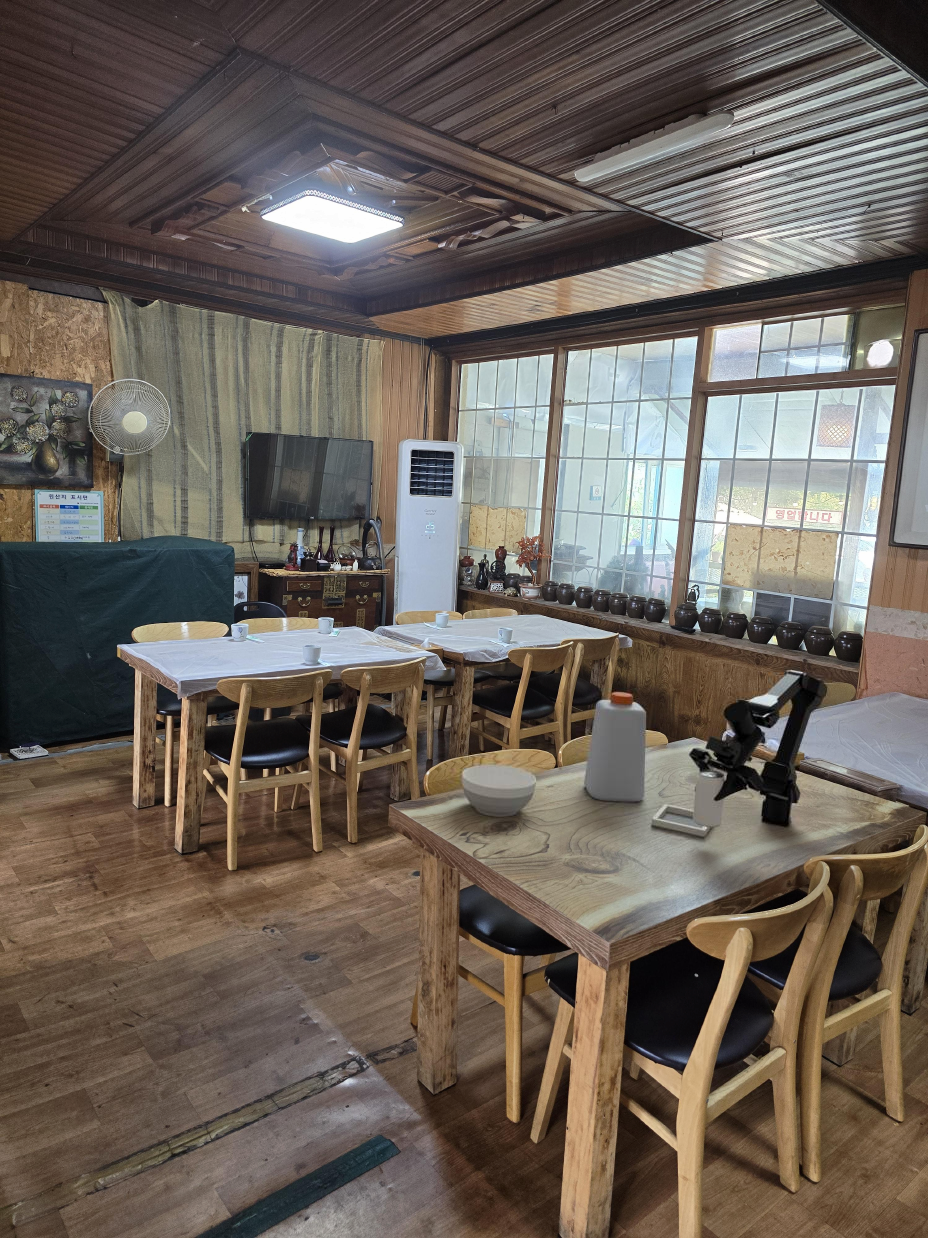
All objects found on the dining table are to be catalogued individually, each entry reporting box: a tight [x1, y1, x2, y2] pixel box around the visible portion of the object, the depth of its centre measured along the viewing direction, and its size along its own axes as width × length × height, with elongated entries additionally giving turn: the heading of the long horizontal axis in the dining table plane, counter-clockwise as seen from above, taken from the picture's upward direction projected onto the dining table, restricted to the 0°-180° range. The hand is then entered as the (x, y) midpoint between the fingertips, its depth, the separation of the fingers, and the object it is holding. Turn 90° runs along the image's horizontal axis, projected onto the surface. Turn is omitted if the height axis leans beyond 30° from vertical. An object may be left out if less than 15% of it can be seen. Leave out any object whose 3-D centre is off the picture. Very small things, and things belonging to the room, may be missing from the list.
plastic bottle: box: [583, 691, 647, 803], centre depth 230 cm, size 15×15×28 cm
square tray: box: [650, 803, 712, 839], centre depth 211 cm, size 13×13×2 cm
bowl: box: [461, 764, 537, 818], centre depth 213 cm, size 19×19×9 cm
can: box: [693, 769, 726, 828], centre depth 197 cm, size 6×6×12 cm
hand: (705, 796), depth 197 cm, fingers closed on can, 5 cm apart
